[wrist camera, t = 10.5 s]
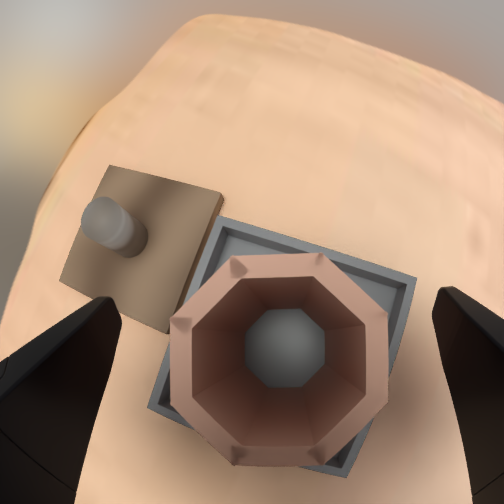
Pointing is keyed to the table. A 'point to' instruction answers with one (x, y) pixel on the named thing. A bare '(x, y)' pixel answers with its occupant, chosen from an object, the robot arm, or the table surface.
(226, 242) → the charcoal tray
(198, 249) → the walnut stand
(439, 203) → the table surface
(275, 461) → the ring tube
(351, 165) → the table surface
